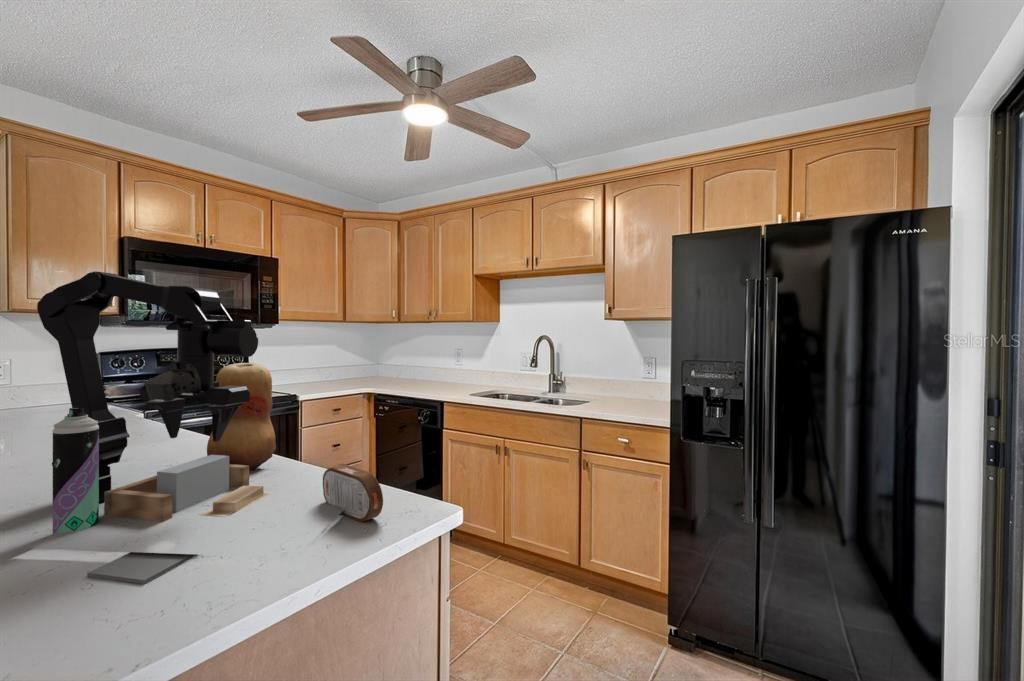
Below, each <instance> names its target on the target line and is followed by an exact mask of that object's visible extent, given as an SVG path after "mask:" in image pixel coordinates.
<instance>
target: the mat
mask: <svg viewBox="0 0 1024 681" xmlns="http://www.w3.org/2000/svg"><path fill="white" fill-rule="evenodd" d="M196 556H198V554H194V553H193V554H192V553H189V554H187V553H167V552H166V553H165V552H162V553H161V552H143V551H140V552H137V551H131V552H128V553H126V554H124V555H122V556H120V557H118V558H115V559H114V560H111V561H109V562H107V563H105V564H103V565H100V566H98V567H97V568H94V569H92V570H90V571H87V573H86V575H87V577H90V578H97V579H105V580H113V581H120V582H126V583H133V584H140V583H141V585H146V584H147V583H149V582H151V581H153V580H155V579H157V578H159V577H160V576H162V575H164V574H166V573H167V572H170V571H171V570H173V569H175V568H176V567H178V566H180V565H182V564H184V563H185V562H187V561H190V560H191V559H192V558H193V559H194V558H195V557H196Z"/></svg>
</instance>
